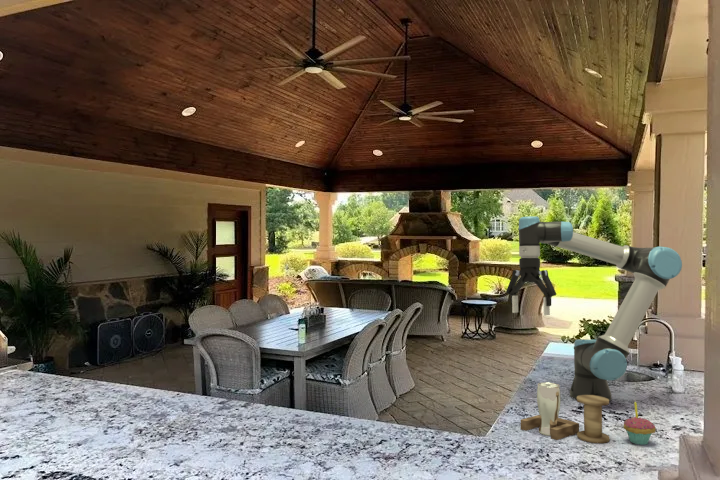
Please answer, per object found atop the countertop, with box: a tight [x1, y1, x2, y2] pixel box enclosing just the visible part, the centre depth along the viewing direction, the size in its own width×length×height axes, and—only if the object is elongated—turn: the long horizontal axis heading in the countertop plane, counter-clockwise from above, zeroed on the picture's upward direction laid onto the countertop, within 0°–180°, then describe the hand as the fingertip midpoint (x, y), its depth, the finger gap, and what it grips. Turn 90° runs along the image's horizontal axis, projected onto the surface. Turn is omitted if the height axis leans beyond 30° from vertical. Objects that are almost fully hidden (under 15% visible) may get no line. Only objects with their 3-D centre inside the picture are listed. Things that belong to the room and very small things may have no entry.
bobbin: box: [576, 395, 611, 445], centre depth 163 cm, size 9×9×12 cm
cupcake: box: [622, 400, 656, 446], centre depth 160 cm, size 9×8×12 cm
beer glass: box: [536, 382, 562, 437], centre depth 168 cm, size 7×7×15 cm
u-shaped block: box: [520, 414, 580, 441], centre depth 169 cm, size 12×13×3 cm
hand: (530, 313), depth 202 cm, fingers open, 13 cm apart
